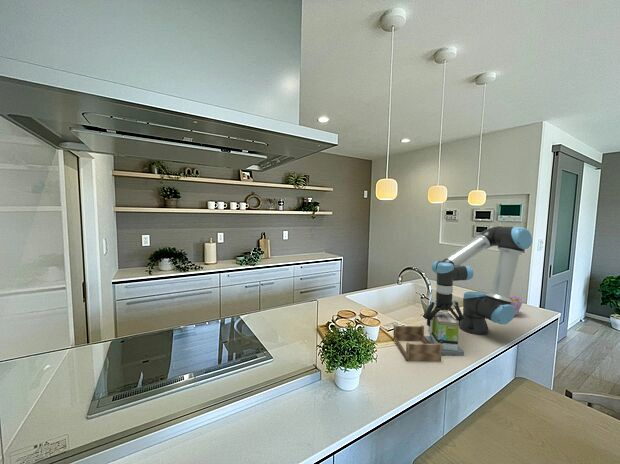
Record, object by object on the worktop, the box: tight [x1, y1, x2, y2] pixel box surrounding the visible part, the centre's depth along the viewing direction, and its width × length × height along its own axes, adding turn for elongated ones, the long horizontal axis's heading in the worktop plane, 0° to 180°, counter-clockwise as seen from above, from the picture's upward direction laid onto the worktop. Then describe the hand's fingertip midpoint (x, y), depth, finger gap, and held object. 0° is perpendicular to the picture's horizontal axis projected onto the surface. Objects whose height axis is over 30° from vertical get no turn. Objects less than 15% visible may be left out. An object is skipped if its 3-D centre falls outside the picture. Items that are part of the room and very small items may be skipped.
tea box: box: [429, 310, 460, 351], centre depth 137 cm, size 15×10×15 cm, turn 170°
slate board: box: [424, 335, 465, 357], centre depth 137 cm, size 13×17×2 cm
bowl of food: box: [509, 294, 524, 315], centre depth 185 cm, size 20×20×12 cm
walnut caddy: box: [392, 324, 442, 362], centre depth 134 cm, size 17×22×8 cm
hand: (443, 332), depth 137 cm, fingers open, 13 cm apart
